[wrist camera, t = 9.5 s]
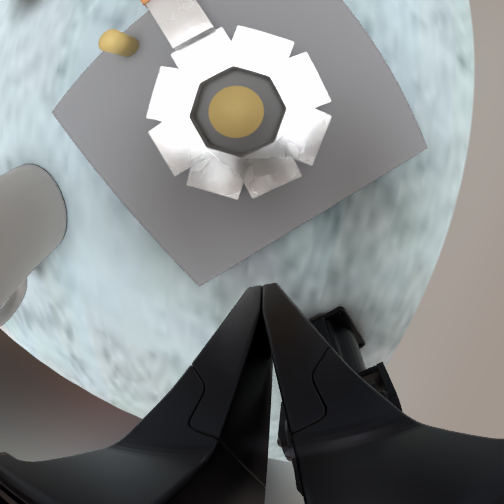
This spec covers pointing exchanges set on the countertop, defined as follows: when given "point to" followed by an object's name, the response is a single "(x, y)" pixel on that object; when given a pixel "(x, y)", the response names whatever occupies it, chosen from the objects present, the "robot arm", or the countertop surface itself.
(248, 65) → the white handled ring
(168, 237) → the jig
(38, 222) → the mug
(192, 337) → the countertop surface
